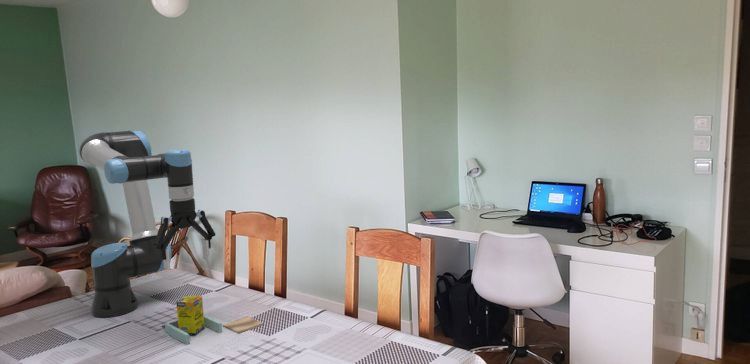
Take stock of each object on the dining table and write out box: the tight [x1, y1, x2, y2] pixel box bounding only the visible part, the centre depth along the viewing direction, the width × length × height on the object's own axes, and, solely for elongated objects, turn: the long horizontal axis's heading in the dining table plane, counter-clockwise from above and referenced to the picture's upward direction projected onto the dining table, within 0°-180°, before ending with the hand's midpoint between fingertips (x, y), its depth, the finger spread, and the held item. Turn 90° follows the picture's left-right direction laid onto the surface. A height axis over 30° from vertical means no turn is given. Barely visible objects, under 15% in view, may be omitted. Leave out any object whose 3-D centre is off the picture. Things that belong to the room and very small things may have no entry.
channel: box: [164, 314, 223, 346], centre depth 176 cm, size 14×12×3 cm
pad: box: [222, 316, 264, 335], centre depth 179 cm, size 9×9×1 cm
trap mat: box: [160, 320, 179, 329], centre depth 182 cm, size 8×9×1 cm
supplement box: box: [176, 295, 206, 336], centre depth 176 cm, size 6×6×11 cm
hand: (187, 263), depth 177 cm, fingers open, 13 cm apart
